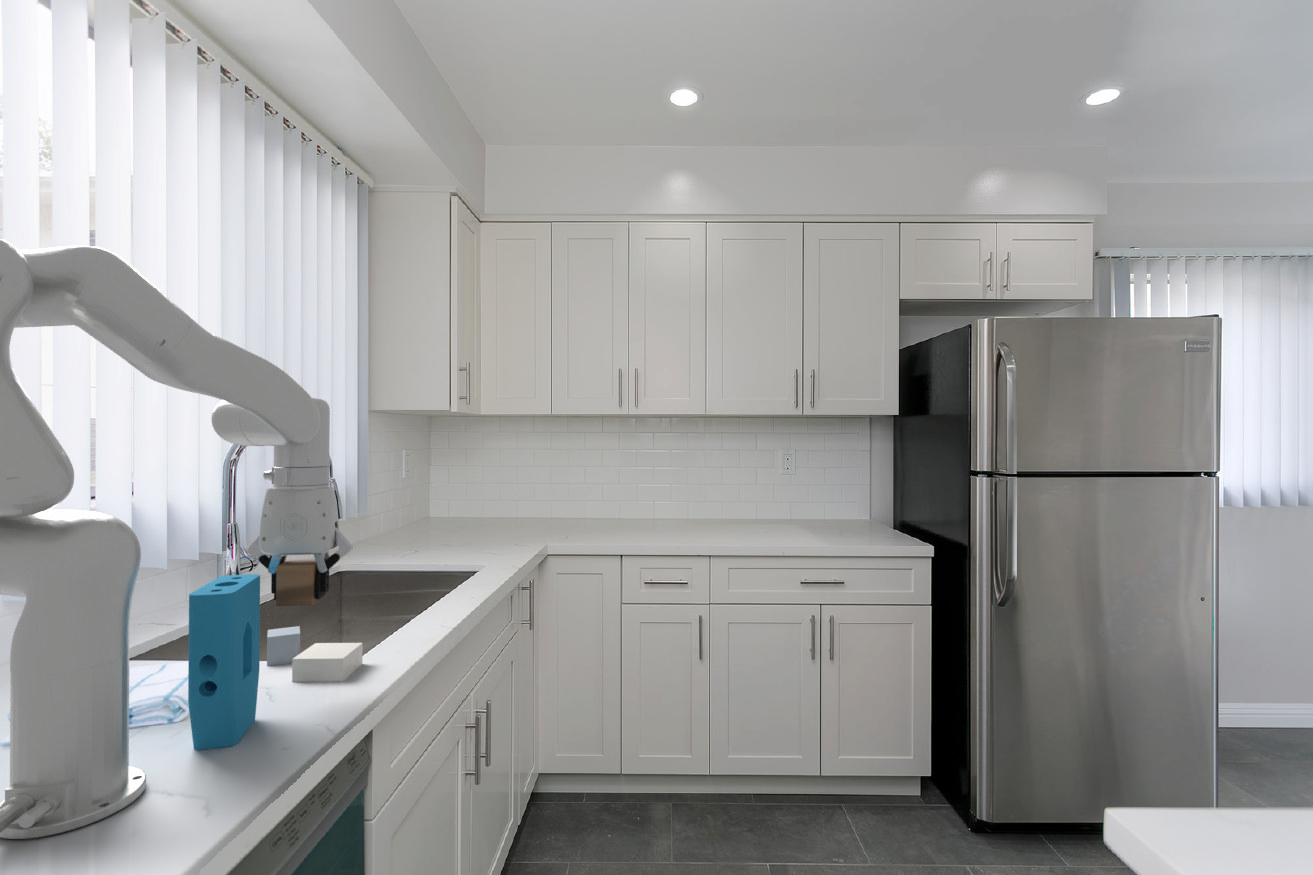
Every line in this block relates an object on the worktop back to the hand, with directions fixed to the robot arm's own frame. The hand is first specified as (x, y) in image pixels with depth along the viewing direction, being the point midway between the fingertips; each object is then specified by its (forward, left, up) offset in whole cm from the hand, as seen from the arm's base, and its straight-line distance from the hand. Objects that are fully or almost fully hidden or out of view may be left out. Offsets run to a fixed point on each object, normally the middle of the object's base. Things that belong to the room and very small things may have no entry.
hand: (300, 596), depth 100 cm
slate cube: (+18, +9, -15) cm, 25 cm away
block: (-12, +5, -16) cm, 20 cm away
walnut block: (0, 0, -1) cm, 1 cm away
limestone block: (+10, -1, -16) cm, 18 cm away
